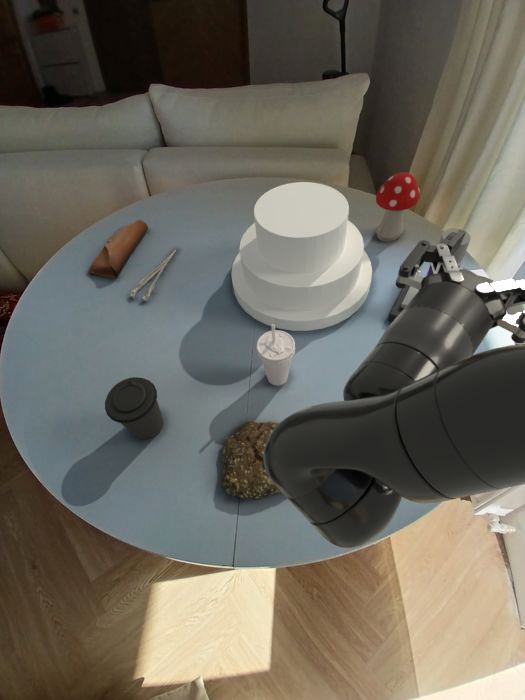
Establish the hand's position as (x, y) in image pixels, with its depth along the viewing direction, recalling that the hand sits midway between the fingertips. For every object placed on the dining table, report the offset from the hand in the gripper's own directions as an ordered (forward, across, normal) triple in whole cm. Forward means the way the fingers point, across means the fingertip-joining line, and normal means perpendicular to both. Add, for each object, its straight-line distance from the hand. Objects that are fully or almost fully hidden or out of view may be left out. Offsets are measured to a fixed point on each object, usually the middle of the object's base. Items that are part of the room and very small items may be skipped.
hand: (497, 250), depth 44 cm
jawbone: (-9, +62, +30) cm, 69 cm away
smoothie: (-14, +22, +30) cm, 40 cm away
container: (+17, +8, +28) cm, 34 cm away
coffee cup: (-35, +33, +30) cm, 57 cm away
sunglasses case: (-9, +76, +30) cm, 82 cm away
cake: (+10, +34, +30) cm, 47 cm away
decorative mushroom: (+34, +27, +30) cm, 53 cm away
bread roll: (-27, +14, +30) cm, 43 cm away
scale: (+17, +8, +30) cm, 36 cm away
